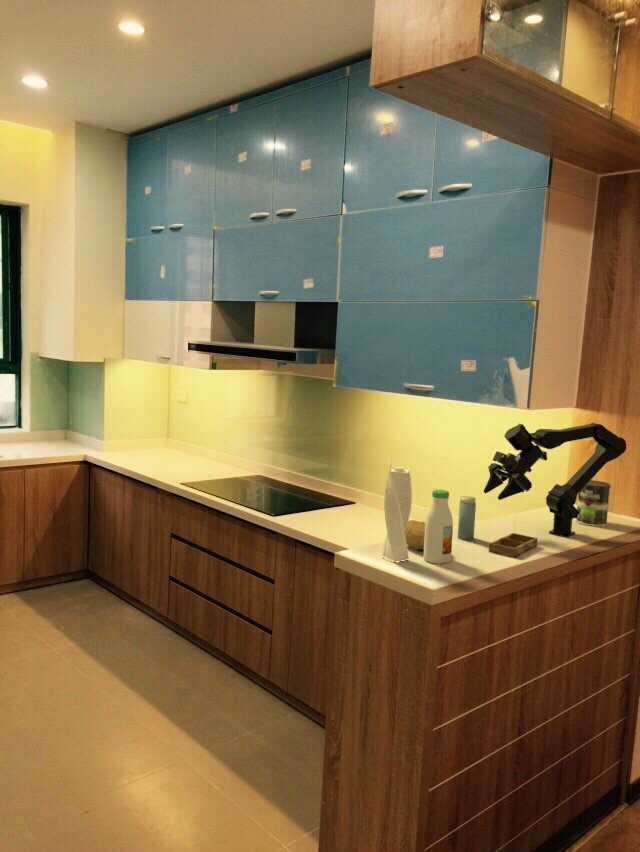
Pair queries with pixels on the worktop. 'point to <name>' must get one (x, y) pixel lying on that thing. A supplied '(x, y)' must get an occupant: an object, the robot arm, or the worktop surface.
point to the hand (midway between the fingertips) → (491, 495)
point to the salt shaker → (466, 518)
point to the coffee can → (593, 503)
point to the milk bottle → (438, 529)
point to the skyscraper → (397, 512)
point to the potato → (415, 534)
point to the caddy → (513, 545)
